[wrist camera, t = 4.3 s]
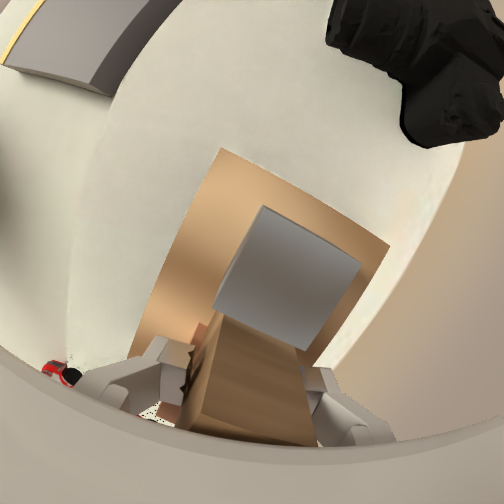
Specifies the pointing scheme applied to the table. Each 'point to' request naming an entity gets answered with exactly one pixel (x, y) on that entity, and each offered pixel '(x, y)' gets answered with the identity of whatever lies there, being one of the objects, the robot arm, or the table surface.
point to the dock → (85, 40)
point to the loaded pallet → (224, 240)
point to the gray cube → (284, 279)
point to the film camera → (430, 62)
